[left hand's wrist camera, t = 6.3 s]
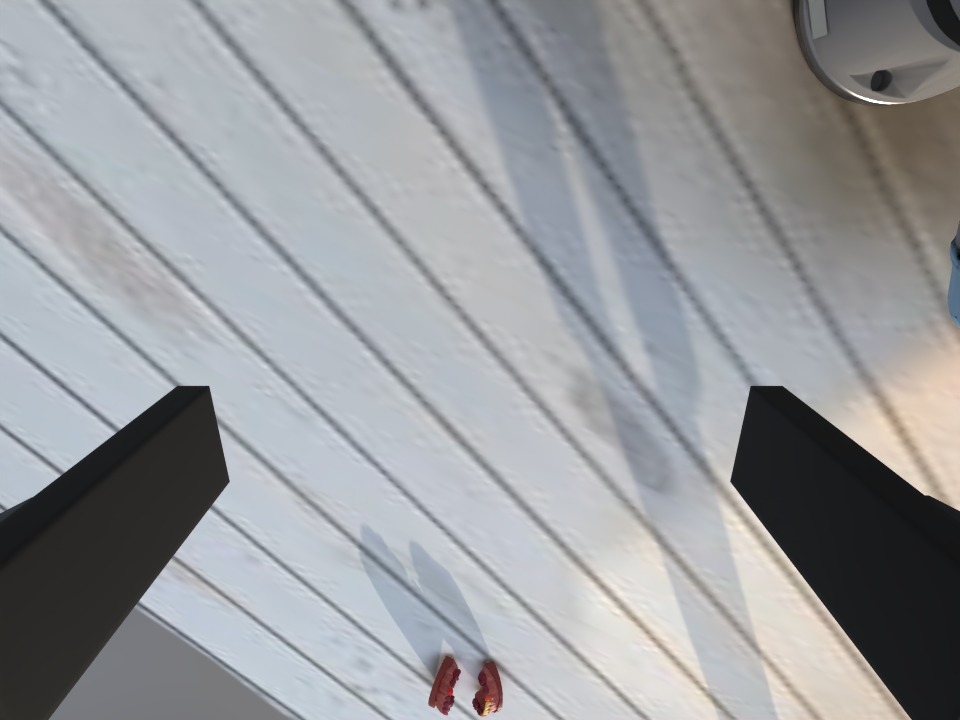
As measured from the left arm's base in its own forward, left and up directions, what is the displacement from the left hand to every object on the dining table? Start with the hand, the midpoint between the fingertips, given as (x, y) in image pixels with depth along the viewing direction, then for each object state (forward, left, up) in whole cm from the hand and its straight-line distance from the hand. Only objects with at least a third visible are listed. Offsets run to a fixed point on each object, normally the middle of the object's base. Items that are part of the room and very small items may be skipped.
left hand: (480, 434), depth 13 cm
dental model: (+24, +43, -30) cm, 57 cm away
